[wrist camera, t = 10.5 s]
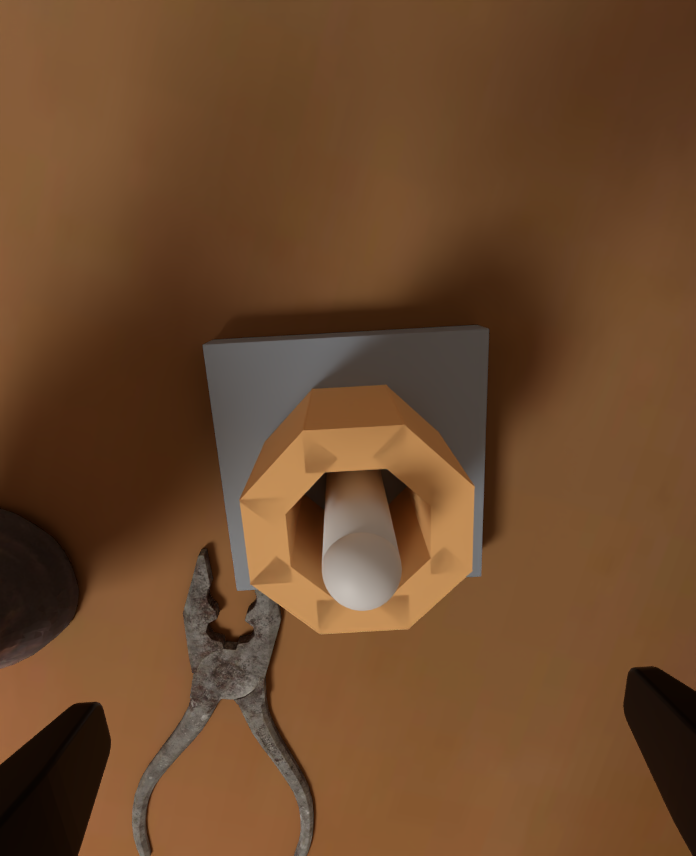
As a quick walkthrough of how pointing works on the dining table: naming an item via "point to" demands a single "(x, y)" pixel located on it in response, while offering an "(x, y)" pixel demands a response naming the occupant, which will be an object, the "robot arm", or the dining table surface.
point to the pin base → (346, 363)
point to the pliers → (226, 696)
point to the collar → (410, 511)
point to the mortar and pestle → (32, 589)
